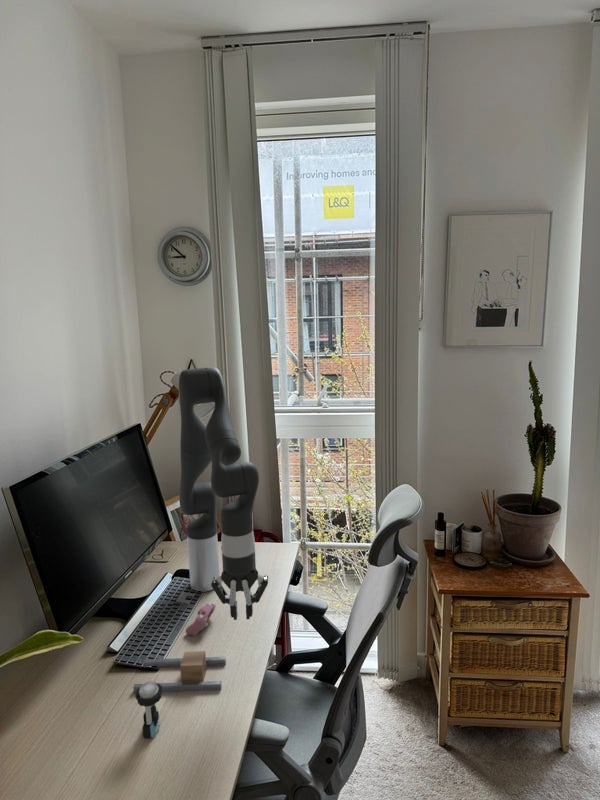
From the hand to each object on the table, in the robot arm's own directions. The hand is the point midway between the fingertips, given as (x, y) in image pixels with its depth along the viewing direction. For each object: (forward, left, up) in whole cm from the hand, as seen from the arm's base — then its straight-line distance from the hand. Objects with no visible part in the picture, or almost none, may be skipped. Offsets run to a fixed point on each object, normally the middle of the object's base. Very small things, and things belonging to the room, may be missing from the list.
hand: (241, 617), depth 124 cm
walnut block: (0, -12, -15) cm, 19 cm away
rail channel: (0, -15, -15) cm, 21 cm away
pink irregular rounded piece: (-20, -13, -15) cm, 29 cm away
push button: (+15, -18, -15) cm, 28 cm away
